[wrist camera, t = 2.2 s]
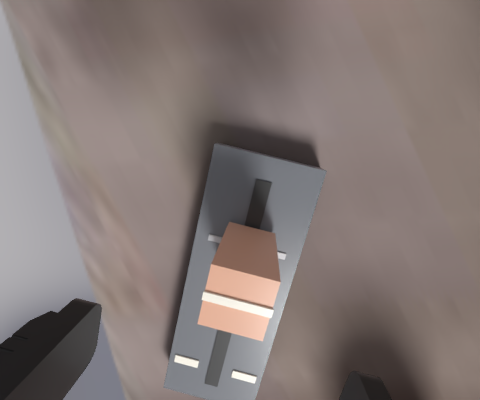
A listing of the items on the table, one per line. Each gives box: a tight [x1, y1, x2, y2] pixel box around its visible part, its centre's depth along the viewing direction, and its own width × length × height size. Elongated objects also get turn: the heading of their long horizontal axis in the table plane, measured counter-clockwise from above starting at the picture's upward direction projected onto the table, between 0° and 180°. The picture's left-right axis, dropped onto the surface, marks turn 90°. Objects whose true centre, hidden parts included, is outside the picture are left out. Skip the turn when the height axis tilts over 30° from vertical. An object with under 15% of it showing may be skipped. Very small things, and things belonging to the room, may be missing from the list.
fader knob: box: [197, 222, 281, 341], centre depth 15 cm, size 3×3×6 cm
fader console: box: [163, 143, 327, 400], centre depth 20 cm, size 7×19×2 cm, turn 167°
